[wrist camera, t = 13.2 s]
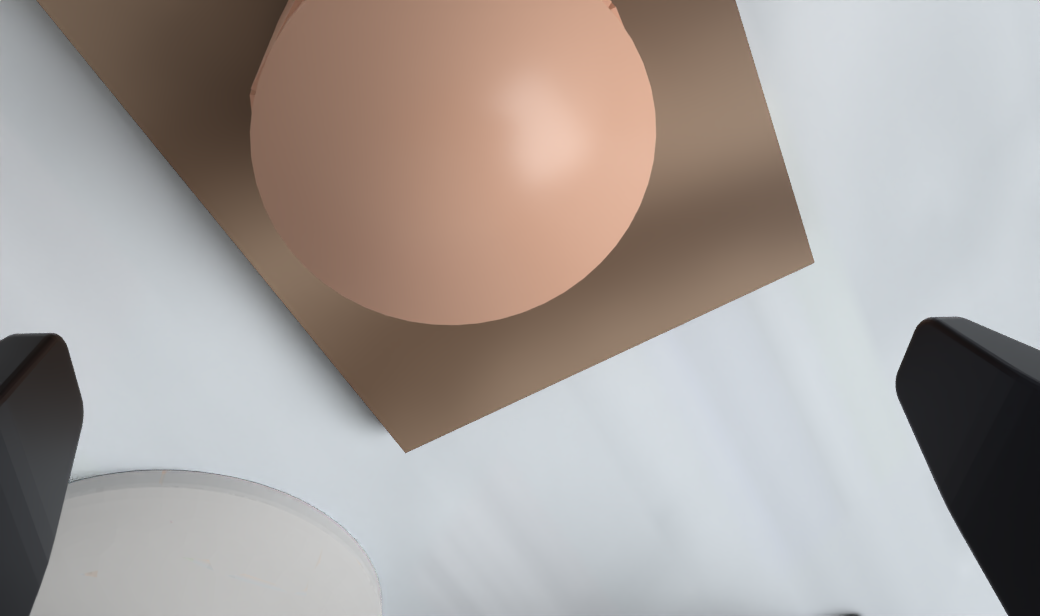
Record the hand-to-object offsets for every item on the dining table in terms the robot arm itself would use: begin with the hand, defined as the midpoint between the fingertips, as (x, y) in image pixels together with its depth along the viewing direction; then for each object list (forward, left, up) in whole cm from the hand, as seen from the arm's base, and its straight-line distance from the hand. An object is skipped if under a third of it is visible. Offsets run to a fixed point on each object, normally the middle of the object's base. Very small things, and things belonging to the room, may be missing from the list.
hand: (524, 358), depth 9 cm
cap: (0, 0, -9) cm, 9 cm away
